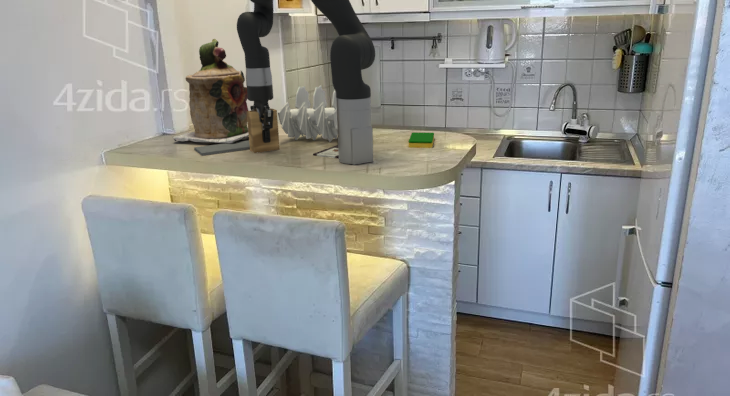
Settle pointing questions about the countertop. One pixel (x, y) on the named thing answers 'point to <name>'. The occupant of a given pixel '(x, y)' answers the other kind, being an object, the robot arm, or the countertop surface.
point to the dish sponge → (421, 140)
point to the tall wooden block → (256, 133)
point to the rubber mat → (223, 148)
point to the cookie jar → (216, 99)
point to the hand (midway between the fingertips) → (264, 140)
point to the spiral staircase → (310, 116)
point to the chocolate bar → (328, 152)
